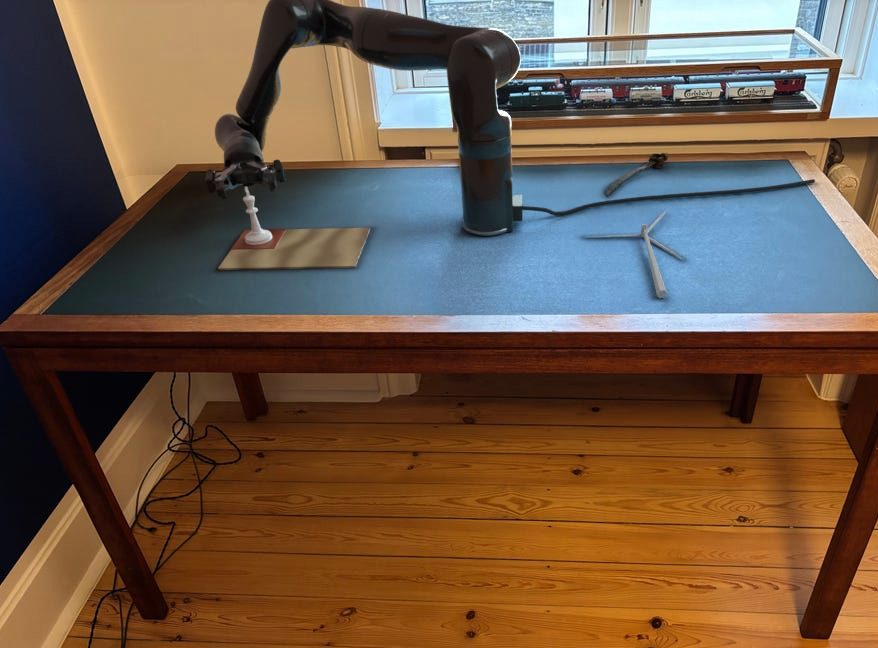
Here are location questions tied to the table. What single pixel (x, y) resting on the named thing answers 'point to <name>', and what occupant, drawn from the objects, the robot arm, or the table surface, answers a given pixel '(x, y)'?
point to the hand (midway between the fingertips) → (247, 190)
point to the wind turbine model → (651, 256)
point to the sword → (638, 170)
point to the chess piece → (255, 223)
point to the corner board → (299, 249)
